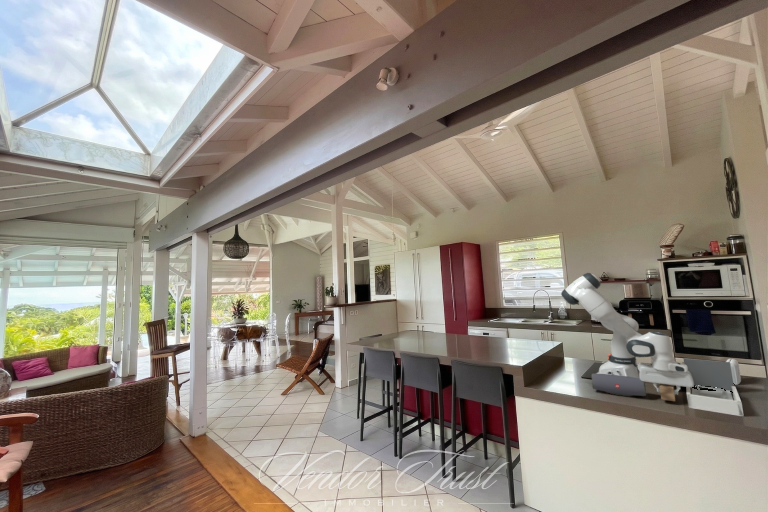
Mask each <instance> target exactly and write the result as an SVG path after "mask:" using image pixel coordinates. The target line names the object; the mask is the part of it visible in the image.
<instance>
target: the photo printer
mask: <svg viewBox="0 0 768 512" xmlns="http://www.w3.org/2000/svg"><path fill="white" fill-rule="evenodd" d="M725 362H730V365H731V371H732V377H733V383H734V384H735V385H734V386H737V385H739V384H740V383H741V382H742V378H741V376H742V375H741V372H740V365H739V362H738V360H736V359H735V358H728V359H726V360H725Z"/></svg>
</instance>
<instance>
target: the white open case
mask: <svg viewBox="0 0 768 512" xmlns="http://www.w3.org/2000/svg"><path fill="white" fill-rule="evenodd" d="M683 364H686V365H687V367H688V371H689V372H690V373H691V375H692V378H693V381H694V385H702V386H697V389H698V390H697V389H694V388H692V387H691V394H692V395H699V396H706V397H713V398H720V399H727V400H734V398H733V394H732V392H730V391H732V386H735V385H734V384H733V377H732V371H731V365H730V362H726V361H723V360H721V361H720V360H709V359H698V358H687V357H683ZM705 386H711V387H705ZM699 387H702V388H708V389H713V390H716V391H708V390H700V388H699ZM713 387H718V388H713ZM721 388H723V389H721ZM724 389H725V390H726V391H724Z"/></svg>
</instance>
